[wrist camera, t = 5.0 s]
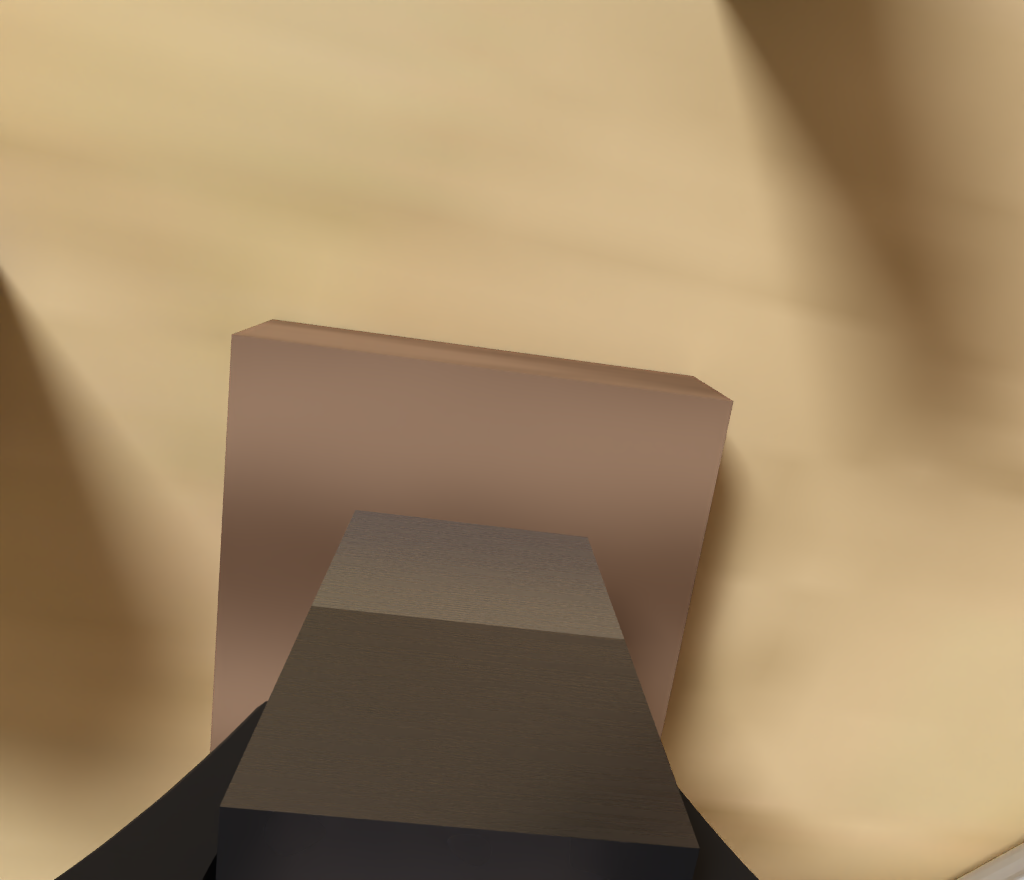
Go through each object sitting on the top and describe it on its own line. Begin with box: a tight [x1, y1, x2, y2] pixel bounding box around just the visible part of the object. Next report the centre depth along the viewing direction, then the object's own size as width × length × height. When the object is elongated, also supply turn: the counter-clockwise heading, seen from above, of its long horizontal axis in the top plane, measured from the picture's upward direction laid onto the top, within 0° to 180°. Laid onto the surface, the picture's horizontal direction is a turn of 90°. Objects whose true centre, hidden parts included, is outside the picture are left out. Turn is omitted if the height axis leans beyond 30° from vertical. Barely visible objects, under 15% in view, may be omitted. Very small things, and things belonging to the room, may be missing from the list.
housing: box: [216, 510, 700, 880], centre depth 10 cm, size 6×4×8 cm, turn 172°
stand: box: [210, 319, 733, 753], centre depth 18 cm, size 10×10×3 cm
